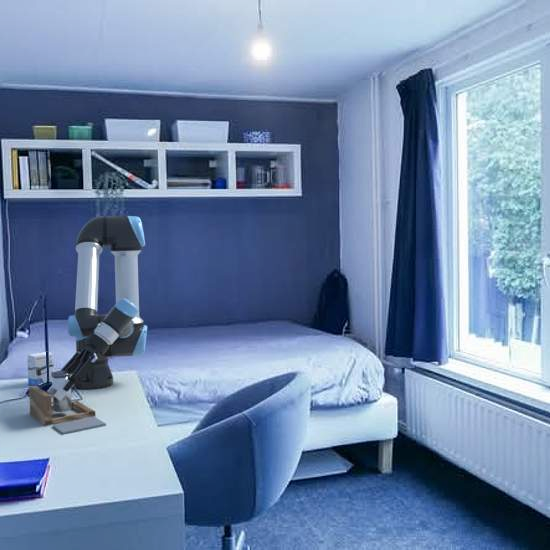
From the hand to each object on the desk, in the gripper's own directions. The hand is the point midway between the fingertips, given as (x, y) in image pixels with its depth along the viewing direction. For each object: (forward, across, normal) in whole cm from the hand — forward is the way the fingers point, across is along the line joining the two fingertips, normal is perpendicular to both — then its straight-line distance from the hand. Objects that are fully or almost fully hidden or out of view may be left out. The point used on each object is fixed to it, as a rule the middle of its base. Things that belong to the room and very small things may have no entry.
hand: (53, 396), depth 195 cm
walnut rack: (+3, 0, +6) cm, 7 cm away
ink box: (-2, -48, +13) cm, 49 cm away
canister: (+2, 0, +5) cm, 6 cm away
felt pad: (+3, +15, +6) cm, 17 cm away
